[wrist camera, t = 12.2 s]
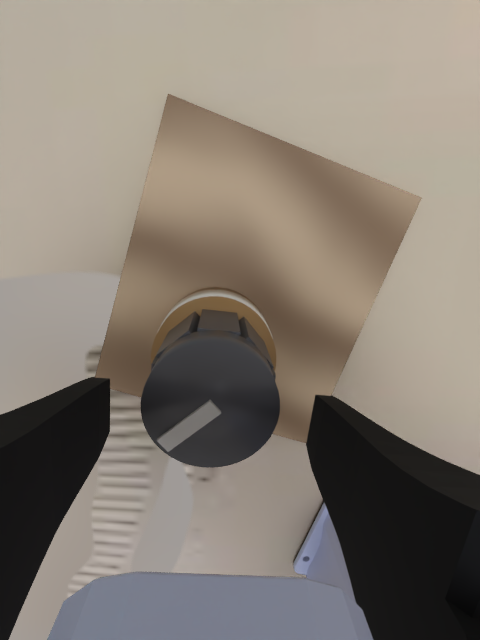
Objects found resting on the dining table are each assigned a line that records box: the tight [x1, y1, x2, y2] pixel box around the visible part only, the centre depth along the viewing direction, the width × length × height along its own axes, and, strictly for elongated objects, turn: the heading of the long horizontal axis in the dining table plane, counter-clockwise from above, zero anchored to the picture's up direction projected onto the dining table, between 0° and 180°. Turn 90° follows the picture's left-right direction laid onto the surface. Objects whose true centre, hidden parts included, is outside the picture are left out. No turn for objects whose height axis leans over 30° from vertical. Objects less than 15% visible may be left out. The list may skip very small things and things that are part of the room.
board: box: [95, 94, 422, 443], centre depth 19 cm, size 16×14×1 cm
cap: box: [141, 309, 280, 467], centre depth 13 cm, size 5×5×5 cm
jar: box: [151, 287, 276, 371], centre depth 17 cm, size 6×6×5 cm
